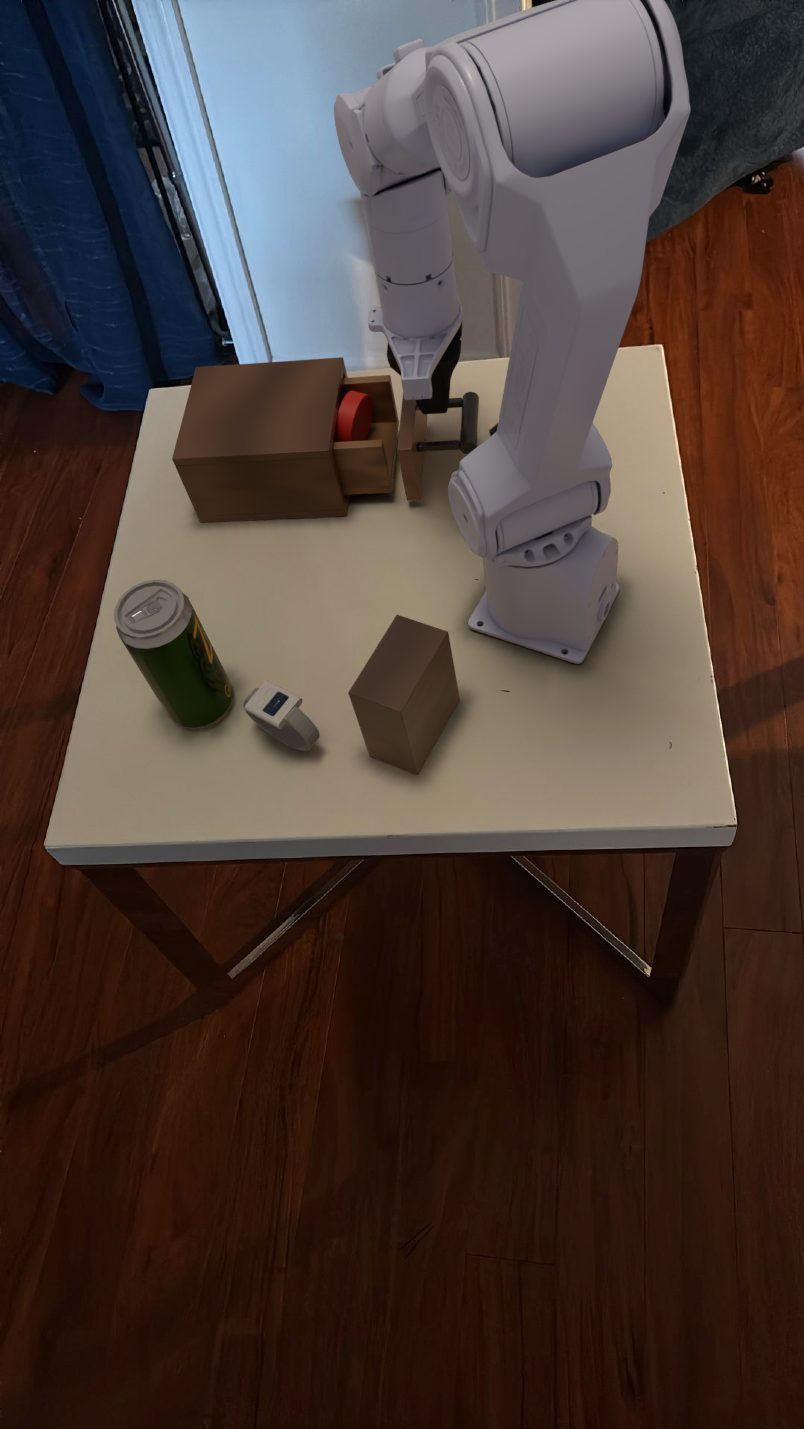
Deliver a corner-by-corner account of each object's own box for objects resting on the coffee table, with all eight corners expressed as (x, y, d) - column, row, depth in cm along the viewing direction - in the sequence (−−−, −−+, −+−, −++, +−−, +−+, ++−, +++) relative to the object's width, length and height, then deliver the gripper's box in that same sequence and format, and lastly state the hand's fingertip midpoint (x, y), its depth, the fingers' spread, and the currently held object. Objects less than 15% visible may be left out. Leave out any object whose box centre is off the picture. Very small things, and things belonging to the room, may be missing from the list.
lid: (370, 381, 87) (353, 377, 87) (347, 426, 85) (331, 421, 85) (375, 423, 91) (359, 418, 92) (353, 466, 89) (337, 461, 90)
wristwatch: (246, 733, 78) (227, 698, 74) (268, 707, 79) (251, 670, 75) (309, 769, 76) (294, 734, 72) (332, 741, 77) (318, 705, 73)
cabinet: (358, 425, 95) (343, 356, 88) (346, 516, 89) (328, 450, 82) (220, 433, 97) (195, 366, 90) (199, 522, 91) (171, 458, 85)
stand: (460, 699, 77) (448, 631, 70) (417, 775, 74) (400, 712, 67) (412, 682, 79) (396, 614, 72) (369, 756, 76) (347, 692, 69)
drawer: (483, 414, 92) (477, 361, 87) (479, 497, 87) (473, 445, 82) (297, 425, 94) (281, 374, 90) (282, 506, 89) (265, 456, 84)
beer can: (187, 745, 79) (130, 653, 69) (156, 698, 81) (97, 603, 71) (248, 707, 80) (200, 612, 70) (216, 663, 82) (166, 564, 72)
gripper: (367, 204, 78) (393, 352, 90) (348, 330, 71) (379, 474, 82) (460, 195, 77) (475, 346, 88) (451, 323, 70) (468, 470, 81)
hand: (435, 408), depth 85 cm, fingers closed
